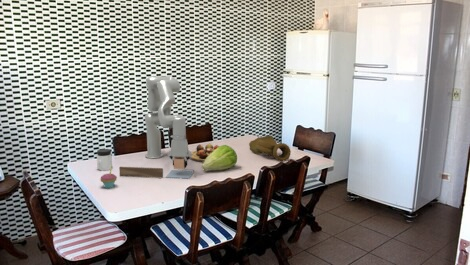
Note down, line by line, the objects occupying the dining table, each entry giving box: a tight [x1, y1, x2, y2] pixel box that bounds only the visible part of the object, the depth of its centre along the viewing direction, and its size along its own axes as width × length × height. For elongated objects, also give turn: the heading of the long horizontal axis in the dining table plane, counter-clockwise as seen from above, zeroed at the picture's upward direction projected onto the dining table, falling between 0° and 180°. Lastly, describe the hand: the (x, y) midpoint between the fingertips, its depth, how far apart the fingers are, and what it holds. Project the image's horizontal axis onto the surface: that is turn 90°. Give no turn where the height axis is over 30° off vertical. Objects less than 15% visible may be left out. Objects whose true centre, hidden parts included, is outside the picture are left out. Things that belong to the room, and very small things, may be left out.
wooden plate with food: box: [189, 143, 220, 163], centre depth 270 cm, size 32×32×8 cm
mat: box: [165, 169, 195, 180], centre depth 229 cm, size 14×14×1 cm
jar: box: [96, 148, 113, 171], centre depth 238 cm, size 9×8×12 cm
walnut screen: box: [119, 166, 164, 179], centre depth 224 cm, size 2×26×6 cm, turn 85°
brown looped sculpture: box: [248, 134, 292, 162], centre depth 272 cm, size 23×16×28 cm
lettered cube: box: [173, 157, 186, 170], centre depth 227 cm, size 6×6×6 cm
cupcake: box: [100, 165, 118, 189], centre depth 206 cm, size 9×8×12 cm
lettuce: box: [201, 144, 238, 171], centre depth 241 cm, size 15×24×16 cm
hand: (180, 166), depth 228 cm, fingers closed on lettered cube, 6 cm apart
